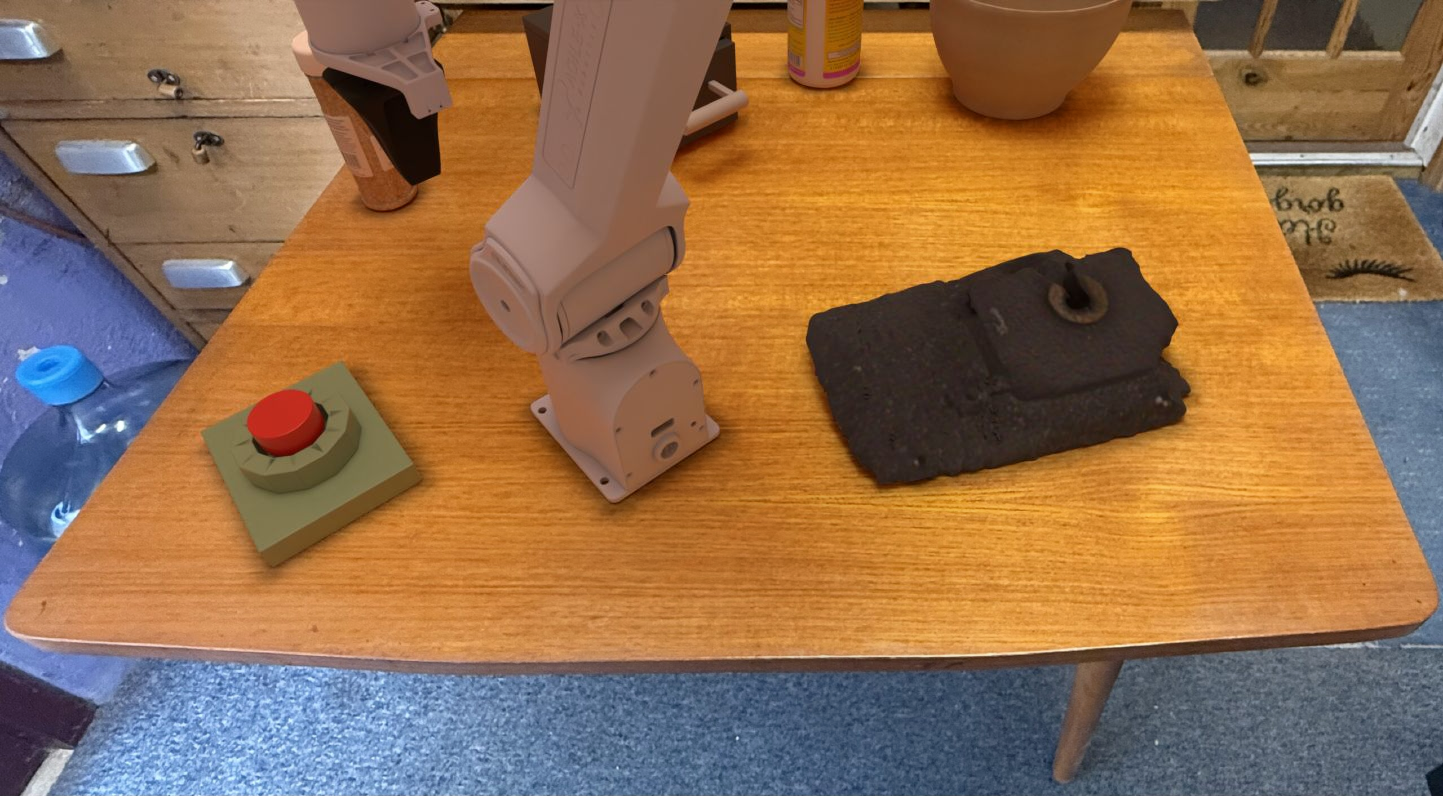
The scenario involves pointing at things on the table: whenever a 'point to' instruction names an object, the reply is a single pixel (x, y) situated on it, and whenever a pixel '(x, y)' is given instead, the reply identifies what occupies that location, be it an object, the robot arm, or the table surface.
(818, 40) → the supplement bottle
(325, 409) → the control block
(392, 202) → the sprinkles bottle
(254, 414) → the button
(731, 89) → the drawer
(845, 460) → the table surface
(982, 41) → the planter bowl
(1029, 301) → the black stepped slab
